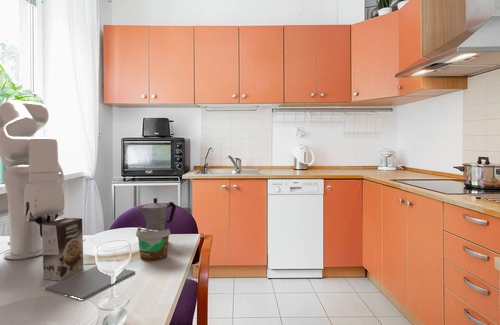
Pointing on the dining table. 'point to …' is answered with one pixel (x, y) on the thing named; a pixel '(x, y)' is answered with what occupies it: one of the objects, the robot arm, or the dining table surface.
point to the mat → (86, 283)
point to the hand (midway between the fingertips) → (46, 237)
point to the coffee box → (62, 248)
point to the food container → (153, 244)
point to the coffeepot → (157, 214)
